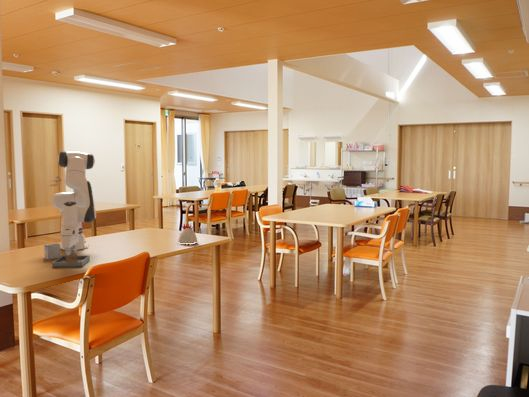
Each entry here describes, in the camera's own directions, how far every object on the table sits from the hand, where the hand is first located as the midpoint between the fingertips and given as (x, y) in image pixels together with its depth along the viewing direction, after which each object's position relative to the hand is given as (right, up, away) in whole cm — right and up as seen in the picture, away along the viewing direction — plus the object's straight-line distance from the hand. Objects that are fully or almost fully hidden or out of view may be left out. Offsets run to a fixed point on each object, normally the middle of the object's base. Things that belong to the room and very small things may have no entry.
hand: (71, 253), depth 268 cm
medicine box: (-18, -5, +15) cm, 24 cm away
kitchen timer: (+57, -2, +70) cm, 90 cm away
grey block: (-5, -5, +13) cm, 15 cm away
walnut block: (0, -5, 0) cm, 5 cm away
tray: (0, -6, 0) cm, 6 cm away
